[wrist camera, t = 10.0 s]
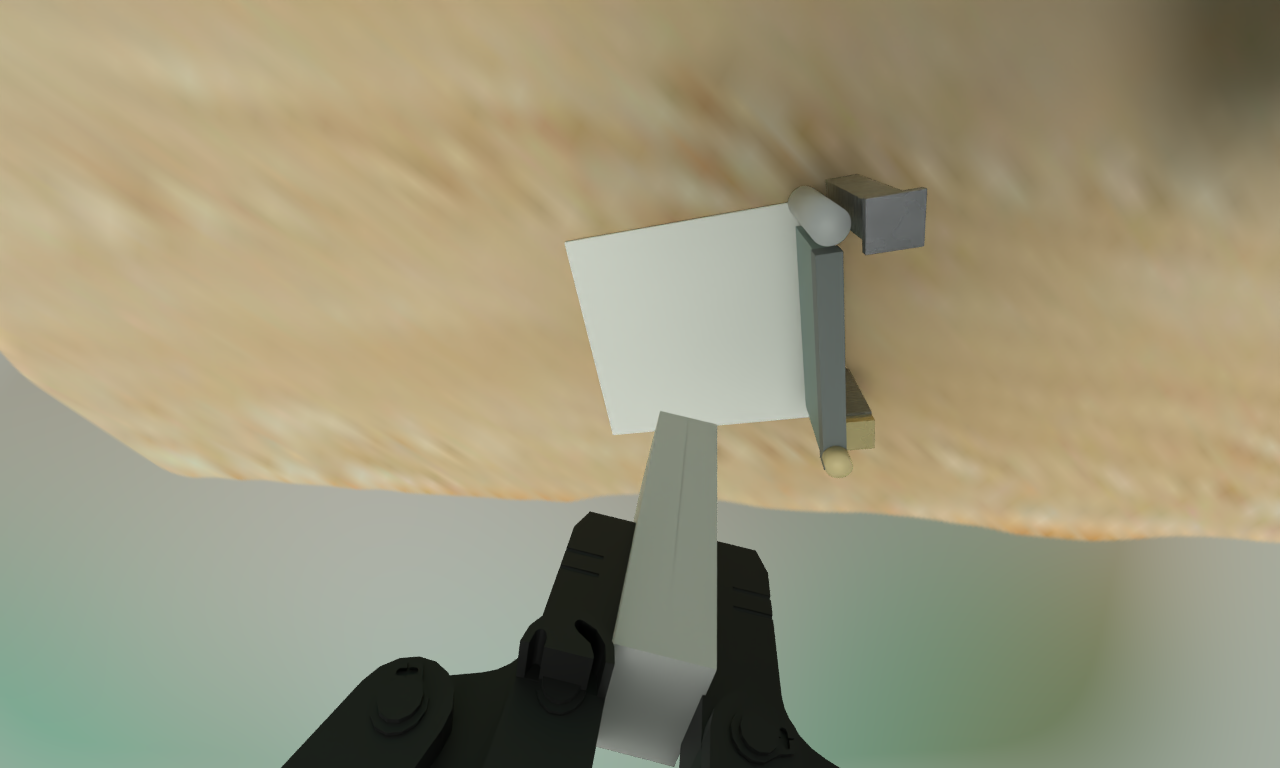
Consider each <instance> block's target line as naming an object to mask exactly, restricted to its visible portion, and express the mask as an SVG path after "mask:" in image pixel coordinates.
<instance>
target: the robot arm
mask: <svg viewBox="0 0 1280 768" xmlns="http://www.w3.org/2000/svg"><path fill="white" fill-rule="evenodd" d="M596 747H600V748H603V749H607V750H611V751H615V752H619V753H623V754H627V755H631V756H634V757H638V758H642V759H646V760H650V761H654V762H658V763H661V764H665V765H669V766H673V767H674V766H675V763H676V761H677V759H678V757H679V754H680V765H679V768H839V767H838V766H836V765H834V764H833V763H831V762H830V761H828V760H826V759H825V758H824V757H822V756H821V755H820V754H818V753H817V752H815V751H814V750H813V749H812V748H811V747H810V746H809V745H808V744H807V743H806V742H805V741H804V740H803V739H802V738H801V737H800V735H799V734H798V732H797V731H796V728H795V727H794V725H793V724H792V722H791V721H790V719H789V718H788V715H787V713H786V711H785V708H784V704H783V700H782V696H781V687H780V678H779V669H778V660H777V651H776V643H775V634H774V624H773V620H772V606H771V600H770V590H769V579H768V572H767V570H766V569H765V567H764V565H763V563H762V561H761V559H760V558H759V556H758V554H757V552H756V551H755V550H751V549H747V548H743V547H739V546H735V545H730V544H726V543H722V542H718V541H717V424H713V423H709V422H705V421H701V420H697V419H692V418H688V417H684V416H680V415H676V414H671V413H667V412H663V411H660V413H659V417H658V421H657V425H656V429H655V433H654V437H653V441H652V445H651V449H650V453H649V457H648V461H647V465H646V469H645V473H644V477H643V481H642V485H641V489H640V494H639V498H638V503H637V508H636V513H635V517H634V522H630V521H626V520H622V519H618V518H614V517H610V516H606V515H602V514H598V513H594V512H589V513H588V514H587V515H586V516H585V517H584V518H583V519H582V520H581V521H580V522H579V523H578V524H576V525H575V527H574V529H573V532H572V534H571V537H570V540H569V543H568V546H567V549H566V551H565V554H564V557H563V560H562V563H561V566H560V569H559V571H558V574H557V577H556V580H555V582H554V585H553V588H552V591H551V594H550V596H549V599H548V602H547V605H546V607H545V610H544V613H543V616H542V617H540V618H539V619H538V620H536V621H535V622H533V623H532V624H531V625H530V626H529V628H528V629H527V631H526V632H525V634H524V636H523V637H522V639H521V640H520V647H519V655H518V658H517V659H516V660H515V661H513V662H512V663H510V664H508V665H506V666H504V667H502V668H499V669H497V670H492V671H487V672H482V673H471V674H460V675H449V673H448V672H447V671H446V670H445V669H444V668H442V667H441V666H440V665H439V664H438V663H437V662H435V661H432V660H429V659H426V658H422V657H408V658H399V659H397V660H394V661H392V662H390V663H387V664H385V665H382V666H380V667H379V668H378V669H376V670H375V671H374V672H373V673H371V674H370V675H369V676H368V677H366V678H365V679H364V680H363V681H362V682H361V683H360V684H359V685H358V686H357V687H356V688H355V689H354V690H353V691H352V692H351V693H350V694H349V695H348V696H347V698H346V699H345V700H344V701H343V702H342V703H341V704H340V705H339V706H338V707H337V708H336V710H334V712H333V713H332V714H331V715H330V716H329V717H328V718H327V719H326V720H325V721H324V722H323V723H322V724H321V725H320V727H319V728H318V729H317V730H316V731H315V732H314V733H313V734H312V735H311V736H310V737H309V738H308V739H307V741H306V742H305V743H304V744H303V745H302V746H301V747H300V748H299V749H298V750H297V751H296V752H295V753H294V754H293V755H292V757H291V758H290V759H289V760H288V761H287V762H286V763H285V764H284V765H283V766H282V767H281V768H592V765H593V759H594V754H595V749H596Z"/></svg>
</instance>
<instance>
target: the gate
mask: <svg viewBox="0 0 1280 768" xmlns="http://www.w3.org/2000/svg"><path fill="white" fill-rule="evenodd" d="M788 208H789V210H790V212H791V213H792V214H793V216H794V217H795V218H796V219H797V221H798V222H799V223H800V224H801V225H802V226H796V244H797V262H798V279H799V297H800V314H801V331H802V349H803V366H804V384H805V401H806V408H807V411H808V414H809V417H810V420H811V424H812V427H813V430H814V433H815V437H816V440H817V443H818V446H819V449H820V458H821V461H822V464H823V467H824V470H826V472H827V474H828V475H830V476H831V477H834V478H843V477H846V476H847V475H849V474H850V473H851V472H852V469H853V464H852V462H851V459H850V456H849V454H848V452H847V438H846V382H845V327H844V271H843V251H842V250H841V249H840V248H839V247H838V246H837V245H836V244H838V243H840V242H841V241H843V240H844V239H845V238H846V236H847V235H848V233H849V231H850V228H851V219H850V216H849V214H848V212H847V211H846V210H845V209H843V208H842V207H840V206H839V205H837V204H836V203H834V202H833V201H832V200H830V199H829V198H827V197H826V196H824V195H823V194H821V193H820V192H818V191H817V190H815V189H814V188H812V187H810V186H801V187H798V188H797V189H795V190H794V191H793V192H792V193H791V195H790V197H789V200H788ZM835 245H836V246H835Z"/></svg>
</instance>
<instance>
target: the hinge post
mask: <svg viewBox="0 0 1280 768" xmlns="http://www.w3.org/2000/svg"><path fill="white" fill-rule="evenodd" d="M826 197H827V198H829V199H830V200H832V201H833V202H834V203H836V204H837V205H839V206H840V207H842V208H843V209H845V210H846V211H847V212H848V214H849V216H850V219H851V228H850V230H851V231H852V232H853V233H855V234H856V235H857V236H858V237H859V238H861V239H862V252H863V253H864V254H865V255H869V254H876V253H882V252H889V251H896V250H902V249H909V248H916V247H922V246H924V239H925V220H926V200H927V188H924V187H920V188H914V189H908V190H900V189H897V188H894V187H892V186H889V185H886V184H883V183H881V182H878V181H875V180H872V179H870V178H867V177H864V176H861V175H859V174H855V175H849V176H844V177H838V178H833V179H827V180H826Z"/></svg>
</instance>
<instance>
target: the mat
mask: <svg viewBox="0 0 1280 768" xmlns="http://www.w3.org/2000/svg"><path fill="white" fill-rule="evenodd" d="M796 226H802V225H801V224H800V223H799V222H798V221H797V219H796V218H795V217H794V216H793V214H792V213H791V212H790V210H789V208H788V202H787V203H781V204H775V205H770V206H764V207H758V208H753V209H747V210H741V211H736V212H730V213H725V214H719V215H713V216H708V217H702V218H696V219H691V220H685V221H679V222H674V223H668V224H662V225H657V226H651V227H645V228H640V229H634V230H628V231H623V232H617V233H611V234H606V235H600V236H595V237H589V238H583V239H578V240H572V241H566V242H565V247H566V251H567V255H568V259H569V263H570V267H571V271H572V274H573V278H574V282H575V286H576V290H577V294H578V298H579V302H580V306H581V310H582V314H583V318H584V322H585V326H586V330H587V334H588V338H589V342H590V346H591V350H592V354H593V358H594V362H595V366H596V370H597V374H598V377H599V381H600V385H601V389H602V393H603V397H604V401H605V405H606V409H607V413H608V417H609V421H610V425H611V429H612V433H613V435H619V434H630V433H641V432H652V431H655V429H656V425H657V421H658V417H659V413H660V411H663V412H667V413H671V414H676V415H680V416H684V417H688V418H692V419H697V420H701V421H705V422H709V423H713V424H717V425H728V424H739V423H750V422H761V421H772V420H783V419H794V418H805V417H809V414H808V411H807V408H806V401H805V384H804V366H803V349H802V331H801V314H800V297H799V279H798V262H797V244H796Z"/></svg>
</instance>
